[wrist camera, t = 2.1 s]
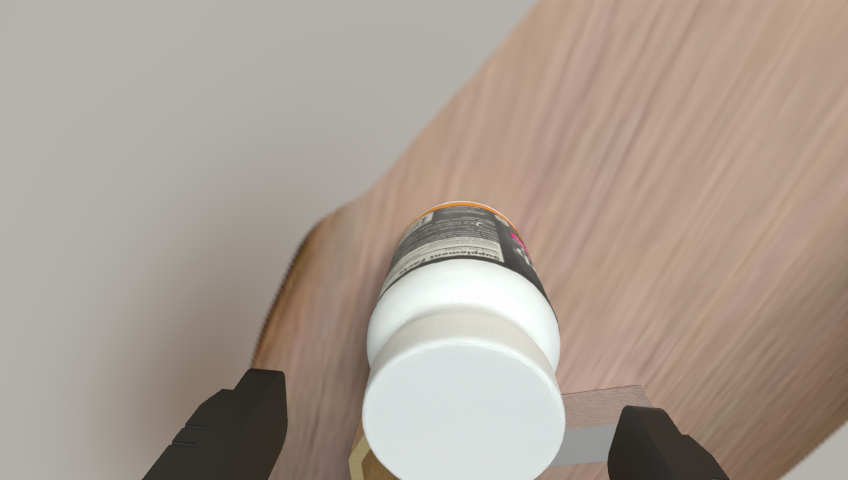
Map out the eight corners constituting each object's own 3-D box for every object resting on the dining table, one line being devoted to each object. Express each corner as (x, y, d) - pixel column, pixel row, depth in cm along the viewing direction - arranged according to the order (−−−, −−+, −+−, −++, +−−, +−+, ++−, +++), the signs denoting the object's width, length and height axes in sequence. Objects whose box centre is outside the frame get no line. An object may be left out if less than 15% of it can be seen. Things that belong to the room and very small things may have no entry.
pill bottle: (531, 301, 19) (604, 506, 10) (413, 320, 20) (375, 526, 11) (512, 183, 17) (580, 299, 8) (383, 210, 18) (305, 344, 9)
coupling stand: (579, 281, 18) (603, 318, 15) (655, 413, 21) (689, 469, 18) (254, 441, 23) (225, 493, 20) (345, 534, 26) (330, 593, 23)
